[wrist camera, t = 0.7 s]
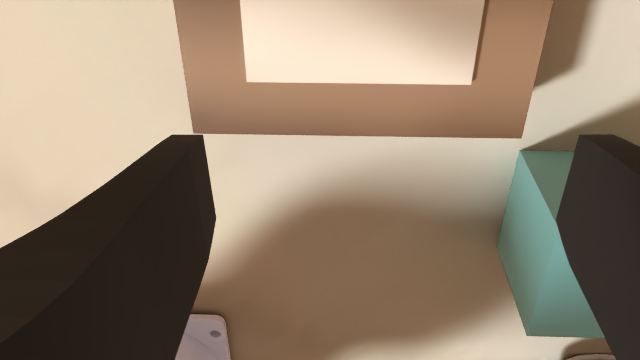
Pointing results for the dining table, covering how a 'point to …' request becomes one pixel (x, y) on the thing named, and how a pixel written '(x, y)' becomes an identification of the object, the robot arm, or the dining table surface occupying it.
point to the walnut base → (361, 66)
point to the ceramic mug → (593, 357)
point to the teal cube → (542, 250)
